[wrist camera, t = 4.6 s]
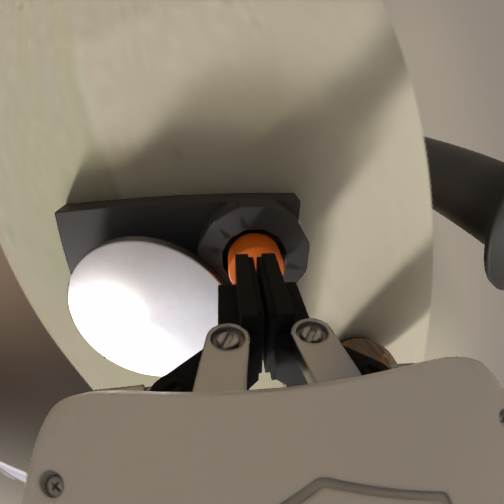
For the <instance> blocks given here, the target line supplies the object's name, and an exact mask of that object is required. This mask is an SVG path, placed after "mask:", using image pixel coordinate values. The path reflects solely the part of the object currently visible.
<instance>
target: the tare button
mask: <svg viewBox="0 0 504 504" xmlns="http://www.w3.org/2000/svg"><path fill="white" fill-rule="evenodd" d="M262 253H275V255H276V258H277V261H278V264H279V267H280V270H281V273H282V275H284V262H283V259H282V256H281V254H280V251H279V248H278V246H277V244H276V242H275V241H274V240H273V239H272V238H270V237H269V236H267V235H265V234H261V233H249V234H245V235H243V236H241V237H239V238H238V239H237V240H235V241H234V242H233V244H232V245H231V247H230V249H229V252H228V274H229V278H230V281H231V282H232V284H236V282H235V254H248V257H253V259H254V264H255V269H256V261H257V257H261V254H262Z"/></svg>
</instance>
